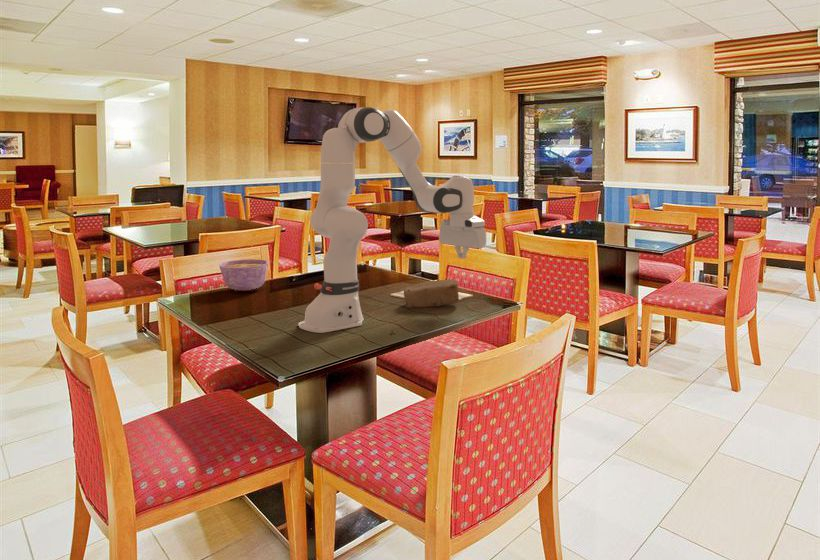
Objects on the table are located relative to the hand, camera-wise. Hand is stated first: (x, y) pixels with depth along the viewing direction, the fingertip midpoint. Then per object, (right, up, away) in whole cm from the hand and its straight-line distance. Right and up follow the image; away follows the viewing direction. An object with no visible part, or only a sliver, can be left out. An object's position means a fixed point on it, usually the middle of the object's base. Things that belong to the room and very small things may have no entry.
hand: (461, 257), depth 228 cm
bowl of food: (-88, -13, +32) cm, 95 cm away
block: (-1, -12, -1) cm, 12 cm away
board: (-11, -15, +15) cm, 23 cm away
